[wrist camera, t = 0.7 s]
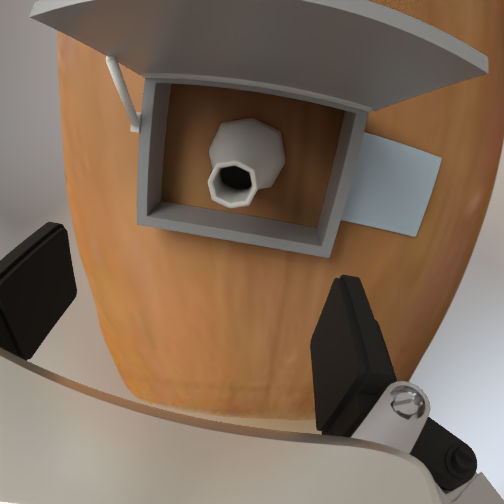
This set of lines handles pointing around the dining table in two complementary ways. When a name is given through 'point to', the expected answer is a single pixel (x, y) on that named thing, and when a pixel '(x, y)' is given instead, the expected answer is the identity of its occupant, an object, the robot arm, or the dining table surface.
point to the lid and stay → (271, 45)
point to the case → (235, 224)
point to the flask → (244, 161)
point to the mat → (390, 185)
